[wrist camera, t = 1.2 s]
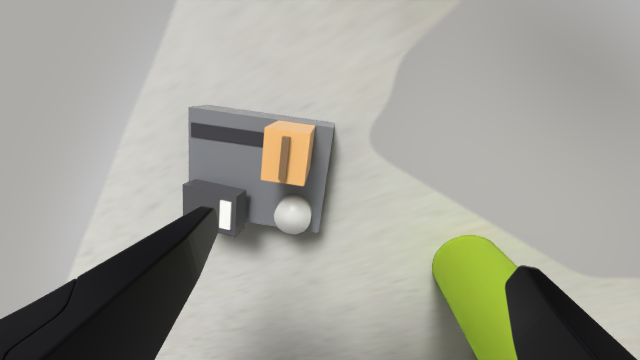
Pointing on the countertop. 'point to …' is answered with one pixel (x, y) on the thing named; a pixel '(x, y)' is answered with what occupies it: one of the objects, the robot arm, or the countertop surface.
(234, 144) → the panel
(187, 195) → the block
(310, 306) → the countertop surface
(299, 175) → the orange slider
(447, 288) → the soap dispenser
